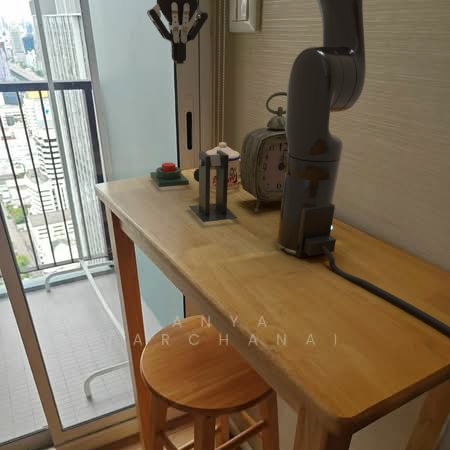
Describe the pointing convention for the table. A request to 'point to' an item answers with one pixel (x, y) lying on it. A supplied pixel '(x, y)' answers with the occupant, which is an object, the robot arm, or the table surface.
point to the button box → (169, 178)
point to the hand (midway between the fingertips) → (179, 63)
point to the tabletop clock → (265, 158)
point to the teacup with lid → (232, 166)
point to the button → (168, 167)
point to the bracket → (220, 207)
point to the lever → (214, 165)
